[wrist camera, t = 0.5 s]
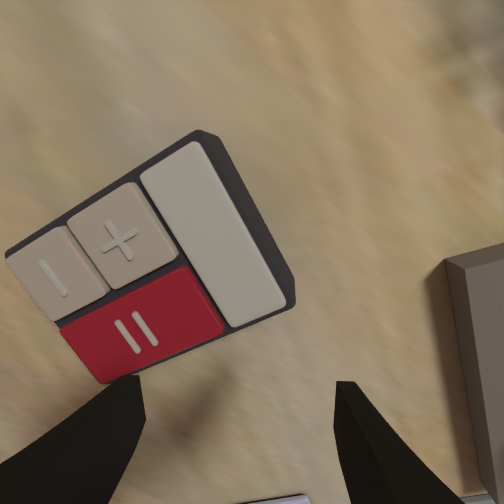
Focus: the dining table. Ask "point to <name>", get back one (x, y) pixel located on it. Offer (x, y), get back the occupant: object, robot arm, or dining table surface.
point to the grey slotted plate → (482, 353)
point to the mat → (478, 499)
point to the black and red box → (156, 262)
